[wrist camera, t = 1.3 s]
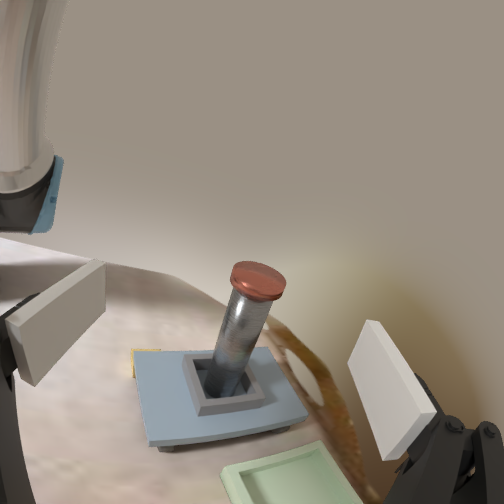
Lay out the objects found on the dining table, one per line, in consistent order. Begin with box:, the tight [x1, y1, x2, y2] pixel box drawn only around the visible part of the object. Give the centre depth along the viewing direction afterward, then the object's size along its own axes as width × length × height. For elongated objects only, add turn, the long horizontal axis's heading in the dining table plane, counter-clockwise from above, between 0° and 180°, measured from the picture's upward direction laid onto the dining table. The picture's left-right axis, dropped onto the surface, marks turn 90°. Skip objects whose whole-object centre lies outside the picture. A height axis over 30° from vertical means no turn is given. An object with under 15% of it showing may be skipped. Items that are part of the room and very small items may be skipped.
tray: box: [220, 440, 363, 504], centre depth 21 cm, size 12×12×3 cm
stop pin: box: [204, 261, 286, 399], centre depth 27 cm, size 5×5×15 cm
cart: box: [131, 347, 309, 452], centre depth 32 cm, size 15×18×7 cm
